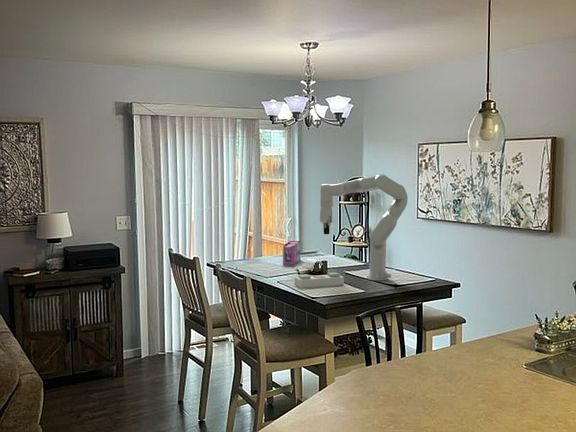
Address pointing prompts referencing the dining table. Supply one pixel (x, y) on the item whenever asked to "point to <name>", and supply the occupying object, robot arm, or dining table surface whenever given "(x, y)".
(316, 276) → the terracotta button
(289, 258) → the gum box
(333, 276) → the slate button
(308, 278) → the sage button
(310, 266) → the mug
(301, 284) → the button panel
